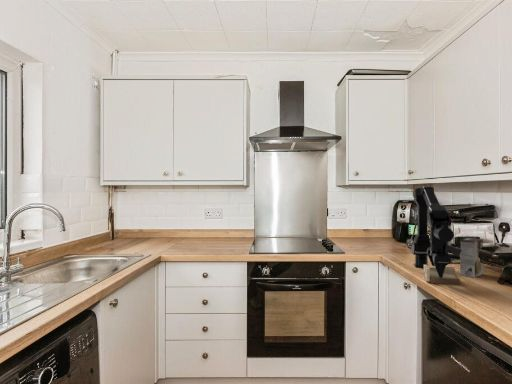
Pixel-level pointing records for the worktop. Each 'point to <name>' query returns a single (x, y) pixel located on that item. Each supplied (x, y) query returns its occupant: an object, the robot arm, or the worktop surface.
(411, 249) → the robot arm
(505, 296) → the worktop surface
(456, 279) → the walnut board
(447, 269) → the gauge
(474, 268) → the grey upright block
